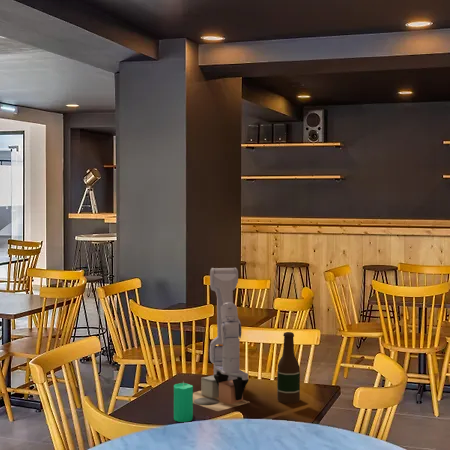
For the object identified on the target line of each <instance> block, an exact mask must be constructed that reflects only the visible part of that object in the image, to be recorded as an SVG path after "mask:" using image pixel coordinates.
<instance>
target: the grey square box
mask: <svg viewBox="0 0 450 450" xmlns="http://www.w3.org/2000/svg"><path fill="white" fill-rule="evenodd" d="M200 383H201V384H200V385H201V386H200V389H201V390H200V391H201V395H203V396H207V397H210V398H216V397H219V387H218V384H217V382H216V380H215V378H214V374H212V375H207V376H203V377H201V379H200Z"/></svg>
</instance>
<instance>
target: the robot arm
mask: <svg viewBox="0 0 450 450" xmlns="http://www.w3.org/2000/svg"><path fill="white" fill-rule="evenodd" d="M209 283H210V285H209V287H210V290H211V291H213V292H215V295H216V316H217V317H216V324H217V325H216V326H217V327H216V328H217V330H216V331H217V332H216V333H217V336H216V337H214V338H213V339H212V340H211V341H210V343H209V361H210V362H211V364H213V375H214V378H215V380H216V382H217V384H218V387H219V383H220V382H224V381H228V380H233V383H234V387H235V398H236V400H241V399H242V395H243V396H244V392H245V389H246V386H247V384H248V383H249V373H247V372H245V371H243V370H241V369H240V350H241V349H240V346H241V345H240V343H241V341H240V339H241V338H242V323H241V321H240V318H239V315H238V307H237V305H236V304H235V303H234V293H233V291H235V290H236V288H237V285H238V283H239V270H238V268H237V267H220V268H218V267H215V268H214V267H211V268H210V271H209Z"/></svg>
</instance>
